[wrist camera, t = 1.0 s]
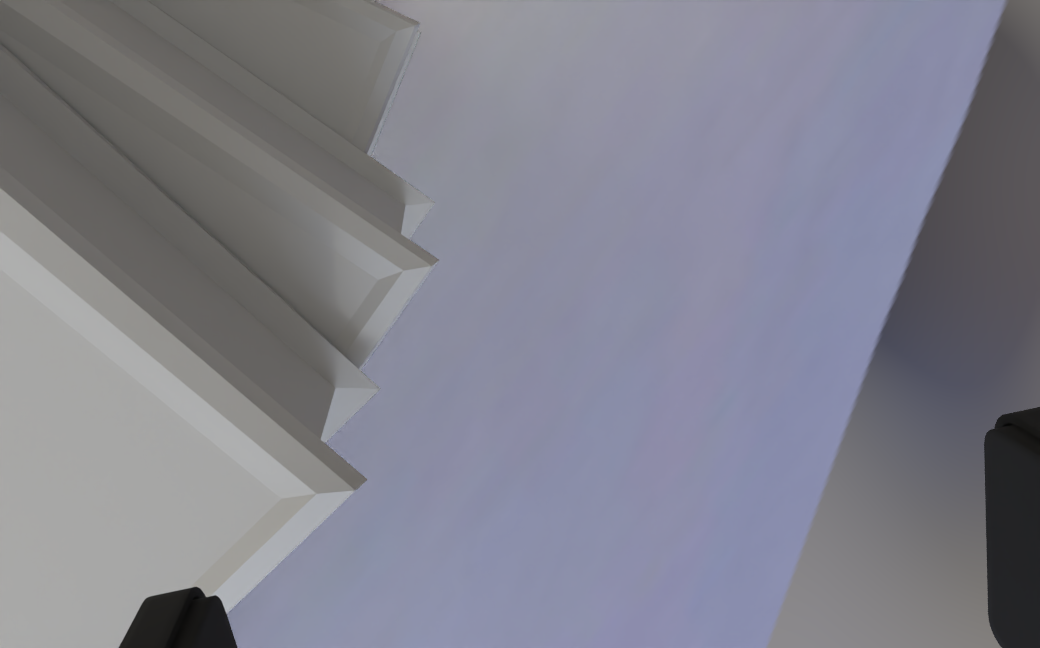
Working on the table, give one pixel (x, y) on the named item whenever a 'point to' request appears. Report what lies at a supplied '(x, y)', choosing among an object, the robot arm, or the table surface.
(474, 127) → the table surface
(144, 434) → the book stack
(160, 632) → the robot arm
